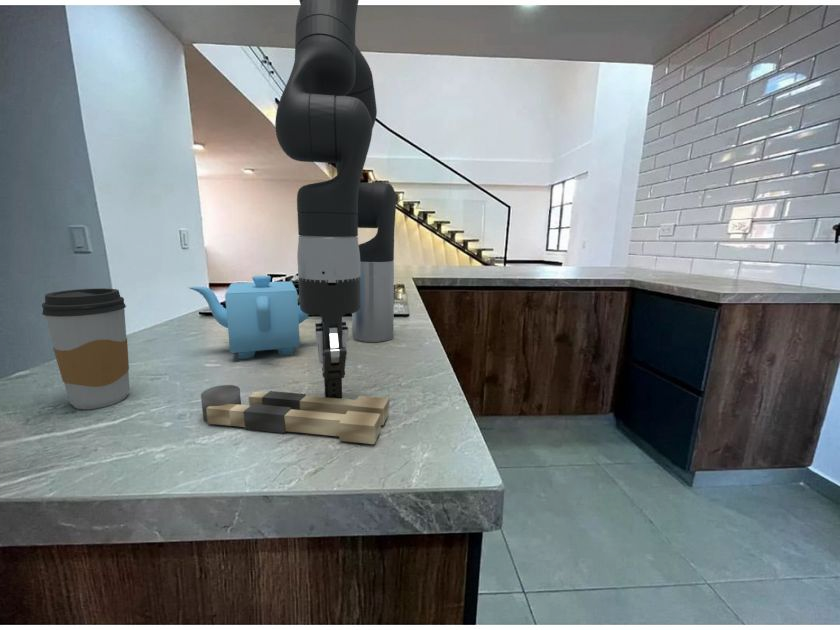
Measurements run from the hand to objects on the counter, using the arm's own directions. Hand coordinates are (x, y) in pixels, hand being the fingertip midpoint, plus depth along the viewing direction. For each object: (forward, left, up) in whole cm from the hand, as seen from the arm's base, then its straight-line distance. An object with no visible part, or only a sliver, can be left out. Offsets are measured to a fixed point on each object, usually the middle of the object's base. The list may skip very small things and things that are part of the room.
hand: (333, 401), depth 52 cm
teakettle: (-24, -23, -1) cm, 33 cm away
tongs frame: (+5, -4, -1) cm, 7 cm away
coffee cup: (+3, -32, -1) cm, 32 cm away
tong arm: (+2, -1, -1) cm, 3 cm away
